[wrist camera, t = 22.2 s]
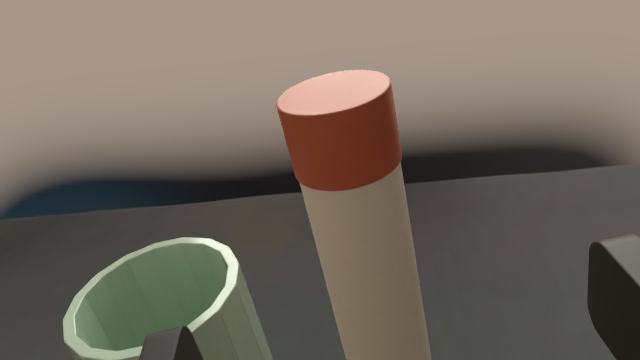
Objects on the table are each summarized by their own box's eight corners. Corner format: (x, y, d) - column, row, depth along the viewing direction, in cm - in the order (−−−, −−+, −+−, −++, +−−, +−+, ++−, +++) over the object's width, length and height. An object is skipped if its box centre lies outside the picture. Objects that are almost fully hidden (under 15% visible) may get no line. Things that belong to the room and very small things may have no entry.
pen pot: (246, 313, 37) (212, 218, 34) (299, 408, 30) (262, 299, 26) (114, 378, 35) (60, 282, 31) (135, 500, 27) (66, 393, 23)
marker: (411, 368, 30) (355, 62, 22) (458, 423, 27) (414, 84, 18) (346, 404, 29) (260, 96, 21) (387, 467, 26) (303, 127, 17)
